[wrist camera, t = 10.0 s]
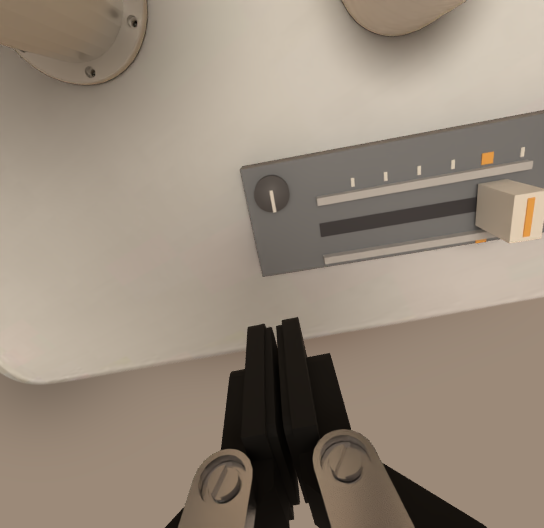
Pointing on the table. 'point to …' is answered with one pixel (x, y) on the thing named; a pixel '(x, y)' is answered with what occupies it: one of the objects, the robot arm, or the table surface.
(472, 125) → the console
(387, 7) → the toilet tissue
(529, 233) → the fader
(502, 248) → the table surface
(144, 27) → the robot arm
